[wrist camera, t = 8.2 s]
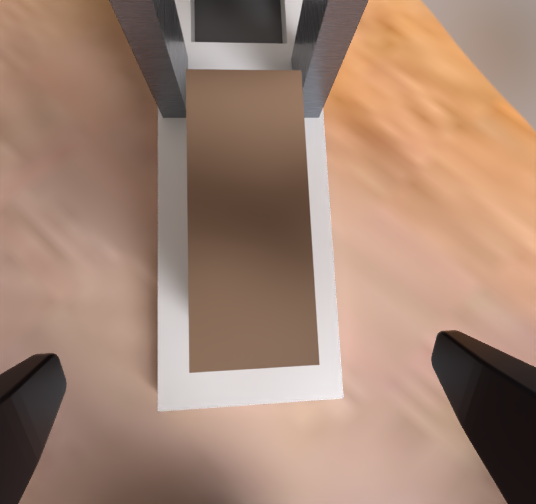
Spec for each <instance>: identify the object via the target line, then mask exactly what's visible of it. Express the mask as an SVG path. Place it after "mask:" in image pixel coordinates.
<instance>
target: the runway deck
mask: <svg viewBox="0 0 536 504" xmlns="http://www.w3.org/2000/svg"><path fill="white" fill-rule="evenodd" d="M302 2H303V0H175V4H176V8H177V13H178V17H179V21H180V25H181V30H182V34H183V38H184V42H185V47H186V51H187V55H188V69H219V70H292V61H291V57H292V52H293V47H294V42H295V37H296V32H297V27H298V22H299V17H300V12H301V7H302ZM304 121H305V137H306V153H307V169H308V186H309V202H310V218H311V234H312V250H313V267H314V283H315V299H316V315H317V331H318V347H319V364H320V365H309V366H293V367H277V368H261V369H245V370H229V371H213V372H196V373H189V307H188V218H187V129H186V118H163V117H162V115H161V112H160V110H159V108H158V412H159V411H173V410H187V409H201V408H215V407H229V406H243V405H257V404H271V403H285V402H299V401H313V400H327V399H341V398H343V384H342V370H341V356H340V342H339V328H338V313H337V299H336V285H335V271H334V257H333V243H332V229H331V215H330V201H329V186H328V172H327V158H326V144H325V130H324V116H323V109H322V112H321V114H320V116H319V118H304Z"/></svg>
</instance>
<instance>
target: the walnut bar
mask: <svg viewBox="0 0 536 504" xmlns="http://www.w3.org/2000/svg"><path fill="white" fill-rule="evenodd" d="M186 129H187V218H188V307H189V373H196V372H213V371H229V370H245V369H261V368H277V367H293V366H309V365H320V364H319V347H318V331H317V315H316V299H315V283H314V267H313V250H312V234H311V218H310V202H309V186H308V169H307V153H306V137H305V121H304V105H303V89H302V72H301V70H219V69H186Z"/></svg>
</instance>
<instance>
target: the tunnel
mask: <svg viewBox="0 0 536 504" xmlns="http://www.w3.org/2000/svg"><path fill="white" fill-rule="evenodd" d="M109 1H110V3H111V5H112V8H113V10H114V12H115V14H116V16H117V18H118V21H119V23H120V25H121V27H122V29H123V32H124V34H125V36H126V38H127V40H128V43H129V45H130V47H131V49H132V51H133V53H134V56H135V58H136V60H137V62H138V64H139V67H140V69H141V71H142V73H143V75H144V77H145V80H146V82H147V84H148V86H149V88H150V91H151V93H152V95H153V97H154V99H155V101H156V104H157V106H158V108H159V110H160V112H161V115H162V117H163V118H186V69H188V55H187V51H186V47H185V42H184V38H183V34H182V30H181V25H180V21H179V17H178V13H177V8H176V4H175V0H109ZM367 3H368V0H303V2H302V7H301V12H300V17H299V22H298V27H297V32H296V37H295V42H294V47H293V52H292V57H291V61H292V70H301V72H302V89H303V105H304V118H319V116H320V114H321V112H322V109H323V107H324V104H325V102H326V100H327V97H328V95H329V93H330V90H331V88H332V85H333V83H334V81H335V78H336V76H337V74H338V71H339V69H340V67H341V64H342V62H343V59H344V57H345V55H346V52H347V50H348V48H349V45H350V43H351V40H352V38H353V36H354V33H355V31H356V29H357V26H358V24H359V22H360V19H361V17H362V14H363V12H364V10H365V7H366V5H367Z"/></svg>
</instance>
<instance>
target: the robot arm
mask: <svg viewBox="0 0 536 504" xmlns="http://www.w3.org/2000/svg"><path fill="white" fill-rule="evenodd" d="M431 361H432V366H433V368H434V371H435V373H436V375H437V377H438V379H439V381H440V383H441V385H442V387H443V389H444V391H445V393H446V396H447V398H448V400H449V402H450V404H451V406H452V408H453V410H454V412H455V414H456V416H457V418H458V420H459V422H460V424H461V426H462V428H463V430H464V431H465V433H466V435H467V437H468V438H469V440H470V442H471V443H472V445H473V447H474V448H475V450H476V452H477V453H478V455H479V457H480V458H481V460H482V462H483V463H484V465H485V467H486V468H487V470H488V472H489V473H490V475H491V477H492V478H493V480H494V482H495V483H496V485H497V487H498V488H499V490H500V492H501V493H502V495H503V497H504V498H505V500H506V502H507V503H508V504H536V367H534V366H532V365H529V364H527V363H525V362H523V361H521V360H519V359H517V358H515V357H512V356H510V355H508V354H506V353H504V352H502V351H500V350H498V349H495V348H493V347H491V346H489V345H487V344H485V343H483V342H481V341H479V340H476V339H474V338H472V337H470V336H468V335H466V334H464V333H462V332H459V331H456V330H450V331H441V332H439V333H438V334H437V337H436V341H435V345H434V349H433V353H432V358H431ZM65 391H66V378H65V375H64V372H63V369H62V366H61V363H60V360H59V357H58V356H57V355H56V354H54V353H45V354H35V355H33V356H31V357H29V358H28V359H26V360H24V361H23V362H21V363H19V364H17V365H16V366H14V367H12V368H11V369H9V370H7V371H6V372H4V373H2V374H0V504H18V503H19V501H20V499H21V497H22V495H23V493H24V491H25V489H26V487H27V485H28V483H29V481H30V479H31V477H32V475H33V472H34V470H35V468H36V466H37V464H38V462H39V459H40V457H41V454H42V452H43V449H44V447H45V444H46V442H47V439H48V436H49V434H50V431H51V428H52V426H53V423H54V420H55V418H56V415H57V412H58V410H59V407H60V404H61V402H62V399H63V397H64V394H65Z"/></svg>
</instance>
